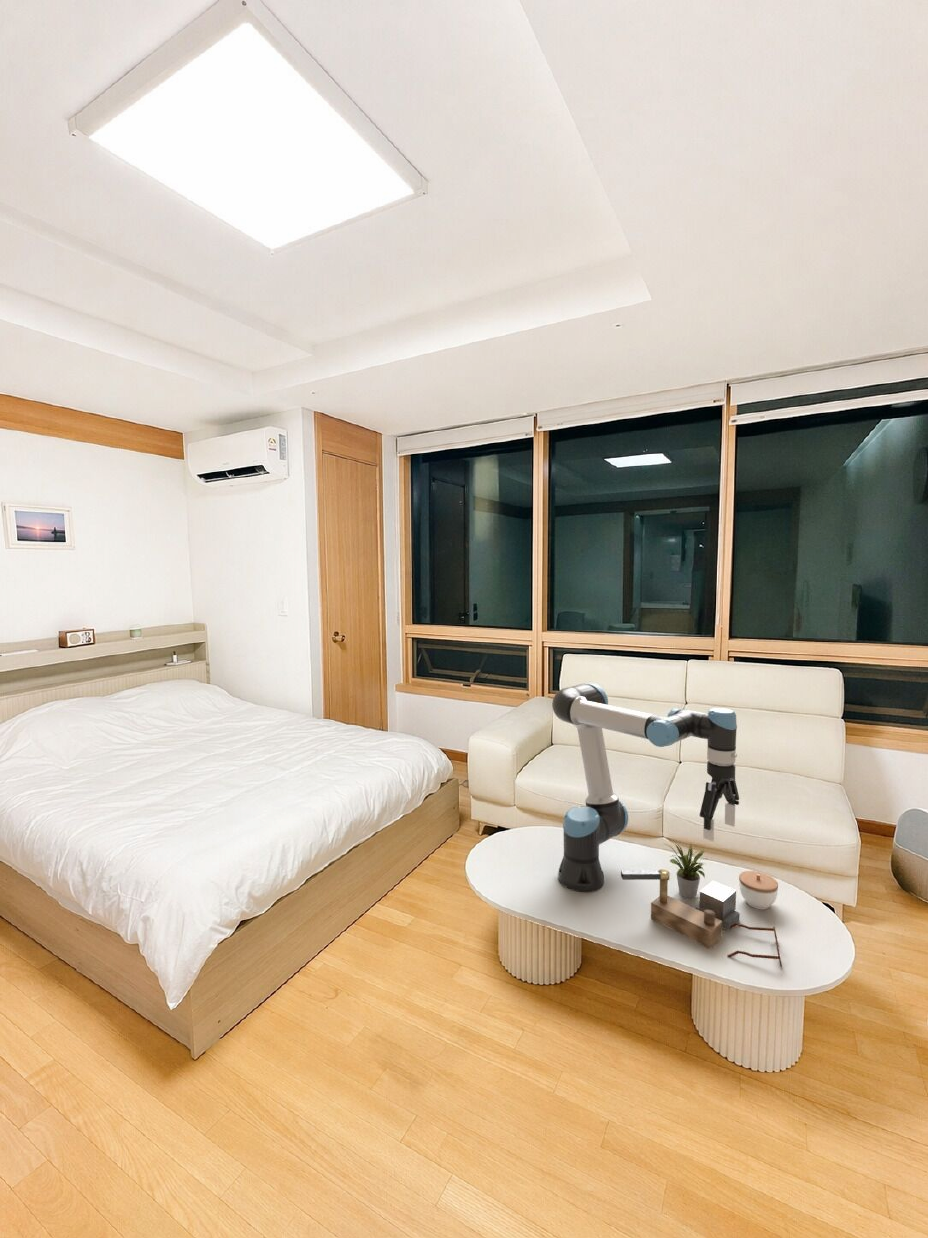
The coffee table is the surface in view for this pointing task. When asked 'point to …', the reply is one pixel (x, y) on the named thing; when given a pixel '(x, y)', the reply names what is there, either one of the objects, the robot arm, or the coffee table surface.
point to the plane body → (686, 918)
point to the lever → (646, 875)
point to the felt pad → (729, 919)
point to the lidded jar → (758, 889)
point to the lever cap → (718, 900)
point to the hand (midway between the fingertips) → (719, 832)
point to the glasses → (755, 954)
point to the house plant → (688, 872)
